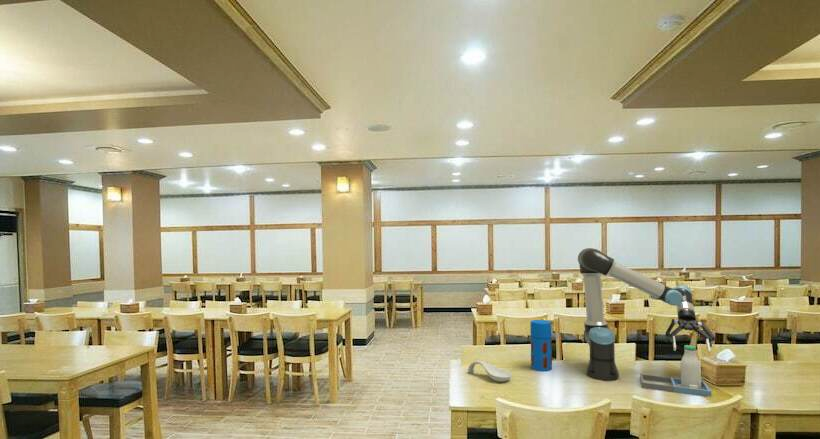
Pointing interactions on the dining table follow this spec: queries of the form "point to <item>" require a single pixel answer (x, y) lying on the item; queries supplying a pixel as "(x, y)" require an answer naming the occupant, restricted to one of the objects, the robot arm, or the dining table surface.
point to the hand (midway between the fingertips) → (691, 351)
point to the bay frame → (673, 385)
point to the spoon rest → (492, 371)
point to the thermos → (541, 345)
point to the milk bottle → (690, 368)
